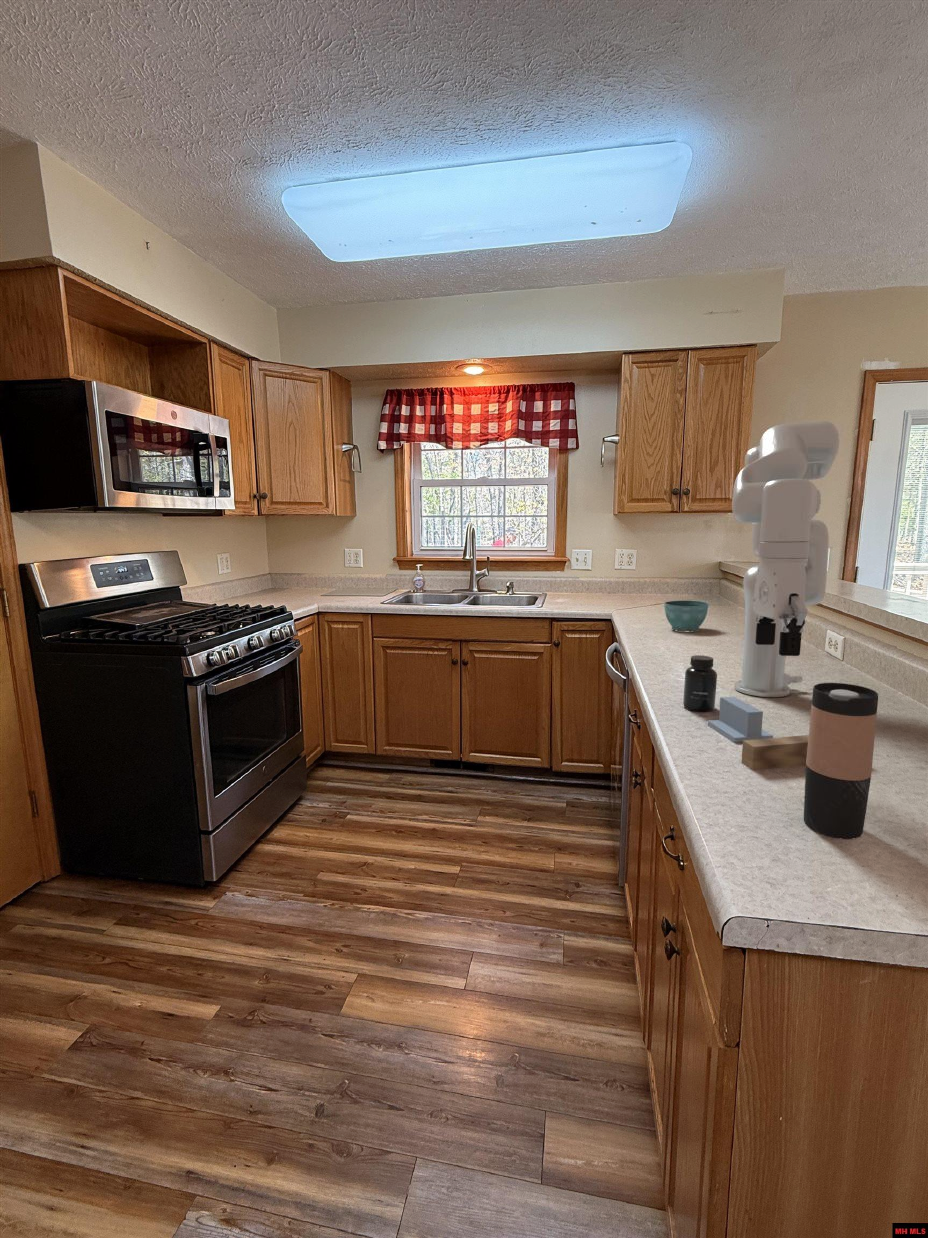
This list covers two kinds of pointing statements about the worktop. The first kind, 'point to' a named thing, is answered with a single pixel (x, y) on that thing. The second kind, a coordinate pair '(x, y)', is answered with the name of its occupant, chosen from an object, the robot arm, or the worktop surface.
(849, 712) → the travel mug
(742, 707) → the fulcrum
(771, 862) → the worktop surface
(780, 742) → the walnut bar
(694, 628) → the teal bowl
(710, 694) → the supplement bottle
